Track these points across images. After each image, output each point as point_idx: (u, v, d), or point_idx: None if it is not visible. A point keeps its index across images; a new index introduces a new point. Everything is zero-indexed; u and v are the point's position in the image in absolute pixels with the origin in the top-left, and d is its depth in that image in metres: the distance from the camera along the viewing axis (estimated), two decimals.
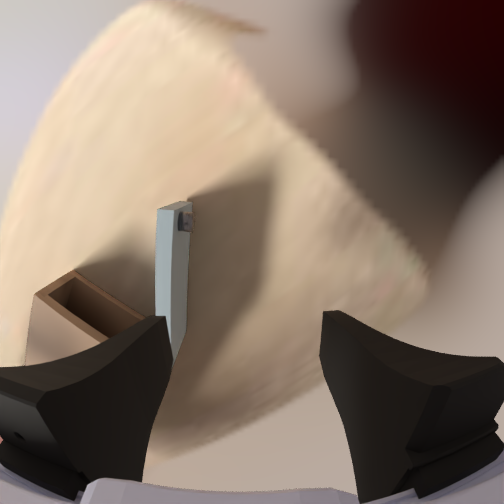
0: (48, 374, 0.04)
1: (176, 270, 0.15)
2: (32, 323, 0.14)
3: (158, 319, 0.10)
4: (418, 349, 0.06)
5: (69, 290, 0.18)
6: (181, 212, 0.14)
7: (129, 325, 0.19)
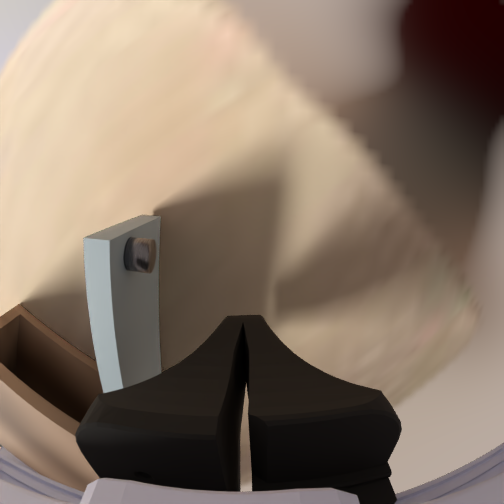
0: (175, 393, 0.04)
1: (130, 332, 0.08)
2: None
3: (241, 319, 0.10)
4: (305, 365, 0.06)
5: (16, 330, 0.12)
6: (130, 239, 0.08)
7: (90, 379, 0.13)
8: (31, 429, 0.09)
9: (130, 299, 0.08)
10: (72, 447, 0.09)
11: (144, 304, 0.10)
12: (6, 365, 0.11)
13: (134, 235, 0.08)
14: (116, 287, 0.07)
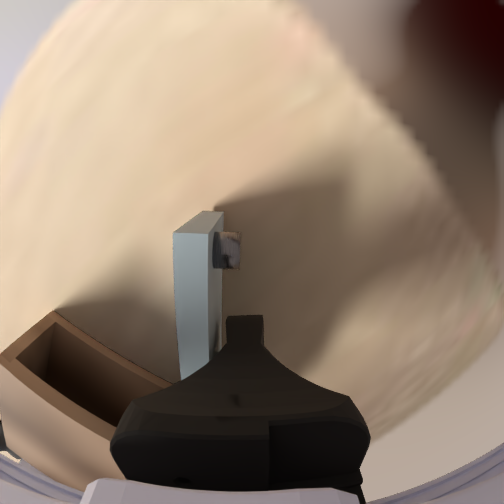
0: (213, 394, 0.04)
1: (213, 336, 0.08)
2: (1, 394, 0.08)
3: (261, 318, 0.10)
4: (279, 367, 0.06)
5: (50, 339, 0.12)
6: (217, 234, 0.08)
7: (138, 389, 0.12)
8: (77, 450, 0.08)
9: (213, 300, 0.08)
10: None
11: (217, 305, 0.10)
12: None
13: (216, 230, 0.08)
14: (209, 287, 0.07)
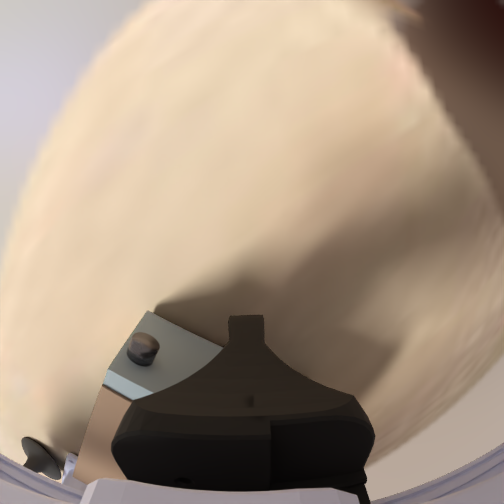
0: (213, 394, 0.04)
1: None
2: (95, 424, 0.08)
3: (261, 318, 0.10)
4: (283, 367, 0.06)
5: None
6: (127, 350, 0.09)
7: None
8: None
9: (177, 375, 0.09)
10: None
11: (201, 363, 0.11)
12: None
13: None
14: (150, 382, 0.08)
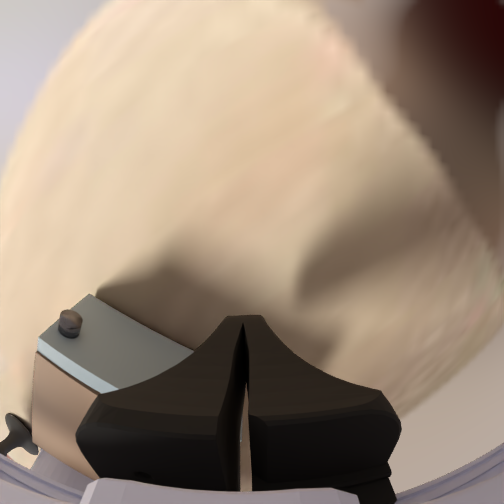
0: (175, 393, 0.04)
1: (117, 365, 0.10)
2: (37, 388, 0.09)
3: (241, 319, 0.10)
4: (305, 365, 0.06)
5: None
6: (59, 324, 0.10)
7: None
8: None
9: (96, 348, 0.10)
10: None
11: (124, 341, 0.11)
12: None
13: None
14: (70, 351, 0.09)
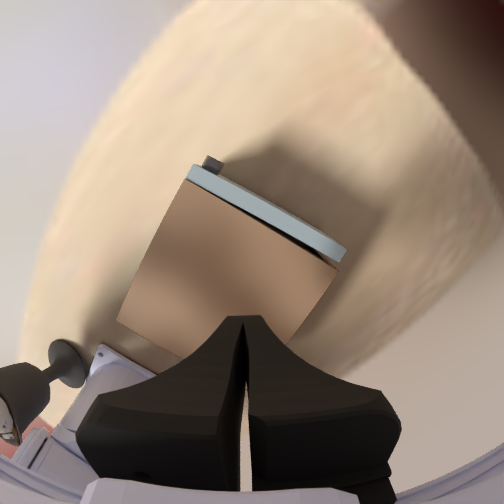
0: (175, 393, 0.04)
1: (252, 193, 0.15)
2: (167, 222, 0.14)
3: (241, 319, 0.10)
4: (305, 365, 0.06)
5: None
6: (202, 165, 0.15)
7: None
8: (240, 268, 0.15)
9: (233, 183, 0.15)
10: (292, 271, 0.15)
11: (246, 189, 0.16)
12: None
13: None
14: (218, 177, 0.14)
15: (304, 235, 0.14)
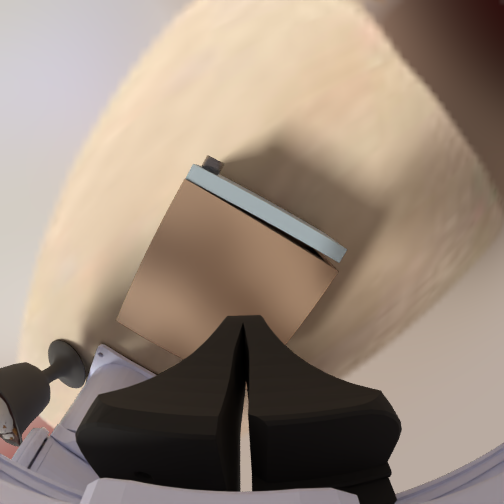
0: (175, 393, 0.04)
1: (252, 193, 0.15)
2: (167, 222, 0.14)
3: (241, 319, 0.10)
4: (305, 365, 0.06)
5: None
6: (202, 165, 0.15)
7: None
8: (240, 268, 0.15)
9: (233, 183, 0.15)
10: (292, 271, 0.15)
11: (246, 189, 0.16)
12: None
13: None
14: (218, 177, 0.14)
15: (304, 235, 0.14)
